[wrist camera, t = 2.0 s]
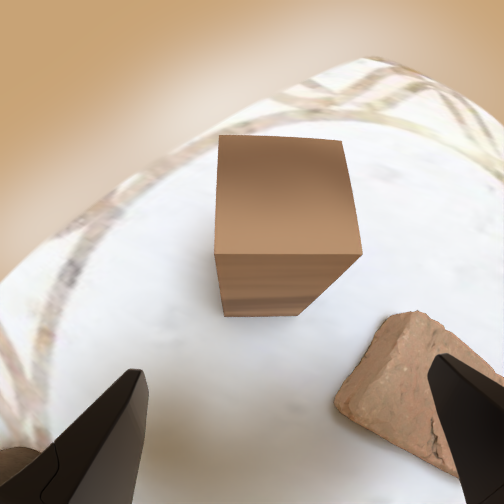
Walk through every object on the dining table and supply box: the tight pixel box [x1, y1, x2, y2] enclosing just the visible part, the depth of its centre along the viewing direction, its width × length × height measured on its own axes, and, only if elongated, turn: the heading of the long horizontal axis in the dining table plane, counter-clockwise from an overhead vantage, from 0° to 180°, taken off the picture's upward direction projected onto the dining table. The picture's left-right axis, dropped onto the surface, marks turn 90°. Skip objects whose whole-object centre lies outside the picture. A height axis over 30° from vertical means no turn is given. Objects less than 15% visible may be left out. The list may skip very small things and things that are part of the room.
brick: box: [334, 310, 504, 478], centre depth 18 cm, size 17×8×5 cm, turn 54°
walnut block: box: [214, 135, 363, 317], centre depth 17 cm, size 5×5×12 cm
